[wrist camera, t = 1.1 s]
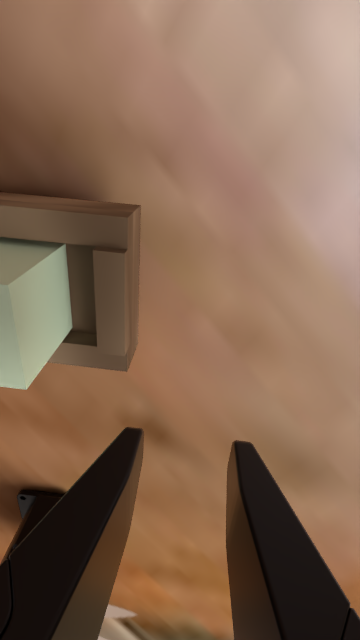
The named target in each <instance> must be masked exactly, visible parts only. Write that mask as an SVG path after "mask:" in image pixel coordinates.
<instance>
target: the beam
mask: <svg viewBox="0 0 360 640" xmlns="http://www.w3.org/2000/svg"><path fill="white" fill-rule="evenodd" d="M140 215H141V205H131V204H121V203H110V202H100V201H89V200H79V199H68V198H58V197H47V196H37V195H26V194H16V193H5V192H0V237H6V238H16V239H26V240H35V241H45V242H55V243H65V244H66V255H67V267H68V279H69V290H70V302H71V314H72V326H73V328H72V329H71V330H70V332H69V333H68V334H67V336H66V337H65V338H64V340H63V341H62V342H61V344H60V345H59V346H58V348H57V349H56V351H55V352H54V353H53V355H52V356H51V357H50V359H49V360H48V361H47V362H49V363H57V364H66V365H74V366H83V367H91V368H100V369H109V370H117V371H126V372H127V371H128V368H129V366H130V363H131V360H132V358H133V355H134V352H135V350H136V347H137V344H138V315H139V265H140Z"/></svg>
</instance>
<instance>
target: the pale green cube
mask: <svg viewBox="0 0 360 640" xmlns="http://www.w3.org/2000/svg"><path fill="white" fill-rule="evenodd" d="M72 328H73V326H72V314H71V302H70V290H69V279H68V267H67V255H66V244H65V243H55V242H45V241H35V240H26V239H16V238H6V237H0V387H8V388H17V389H25V390H27V388H28V387H29V386H30V384H31V383H32V382H33V380H34V379H35V378H36V376H37V375H38V373H39V372H40V371H41V369H42V368H43V367H44V365H45V364H46V363H47V361H48V360H49V359H50V357H51V356H52V355H53V353H54V352H55V351H56V349H57V348H58V346H59V345H60V344H61V342H62V341H63V340H64V338H65V337H66V336H67V334H68V333H69V332H70V330H71V329H72Z"/></svg>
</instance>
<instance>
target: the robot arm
mask: <svg viewBox="0 0 360 640" xmlns="http://www.w3.org/2000/svg"><path fill="white" fill-rule="evenodd" d="M143 442H144V431H143V430H142V429H141V428H133V427H127V428H125V429H124V430H123V431H122V432H121V433H120V434H119V435H118V436H117V437H116V439H115V440H114V441H113V442H112V443H111V444H110V445H109V446H108V447H107V448H106V450H105V451H104V452H103V453H102V454H101V455H100V456H99V457H98V458H97V459H96V461H95V462H94V463H93V464H92V465H91V466H90V467H89V468H88V469H87V470H86V471H85V473H84V474H83V475H82V476H81V477H80V478H79V479H78V480H77V481H76V482H75V484H74V485H73V486H72V487H71V488H70V489H69V490H68V491H67V492H66V493H65V495H59V494H51V493H44V492H36V491H29V490H21V491H20V492H19V494H18V495H17V499H18V503H19V507H20V512H21V516H22V522H21V524H20V526H19V528H18V530H17V532H16V534H15V536H14V538H13V540H12V542H11V544H10V546H9V548H8V550H7V552H6V554H5V556H4V558H3V560H2V562H1V564H0V640H97V639H98V636H99V633H100V629H101V626H102V623H103V619H104V616H105V612H106V609H107V606H108V602H109V599H110V596H111V592H112V589H113V585H114V582H115V579H116V575H117V572H118V569H119V565H120V562H121V558H122V555H123V552H124V548H125V545H126V541H127V538H128V534H129V530H130V525H131V521H132V515H133V510H134V504H135V499H136V493H137V488H138V482H139V477H140V471H141V466H142V459H143ZM226 550H227V563H228V574H229V585H230V597H231V608H232V619H233V630H234V640H360V618H359V616H358V615H357V613H356V611H355V610H354V609H353V608H350V602H349V600H348V599H347V597H346V596H345V594H344V592H343V591H342V589H341V587H340V586H339V584H338V582H337V581H336V579H335V578H334V576H333V574H332V573H331V571H330V569H329V568H328V566H327V565H326V563H325V561H324V560H323V558H322V556H321V555H320V553H319V552H318V550H317V548H316V547H315V545H314V543H313V542H312V540H311V539H310V537H309V535H308V534H307V532H306V530H305V529H304V527H303V526H302V524H301V522H300V521H299V519H298V517H297V516H296V514H295V512H294V511H293V509H292V508H291V506H290V504H289V503H288V501H287V499H286V498H285V496H284V495H283V493H282V491H281V490H280V488H279V486H278V485H277V483H276V482H275V480H274V478H273V477H272V475H271V473H270V472H269V470H268V469H267V467H266V465H265V464H264V462H263V460H262V459H261V457H260V456H259V454H258V452H257V451H256V449H255V447H254V446H253V444H252V443H250V442H245V441H237V440H236V441H234V442H233V443H232V448H231V452H230V457H229V462H228V468H227V504H226Z"/></svg>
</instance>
